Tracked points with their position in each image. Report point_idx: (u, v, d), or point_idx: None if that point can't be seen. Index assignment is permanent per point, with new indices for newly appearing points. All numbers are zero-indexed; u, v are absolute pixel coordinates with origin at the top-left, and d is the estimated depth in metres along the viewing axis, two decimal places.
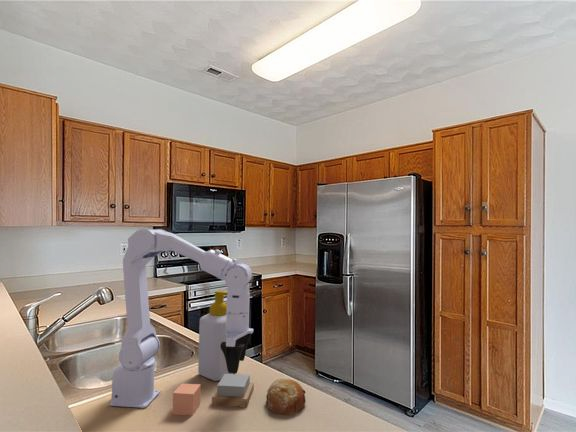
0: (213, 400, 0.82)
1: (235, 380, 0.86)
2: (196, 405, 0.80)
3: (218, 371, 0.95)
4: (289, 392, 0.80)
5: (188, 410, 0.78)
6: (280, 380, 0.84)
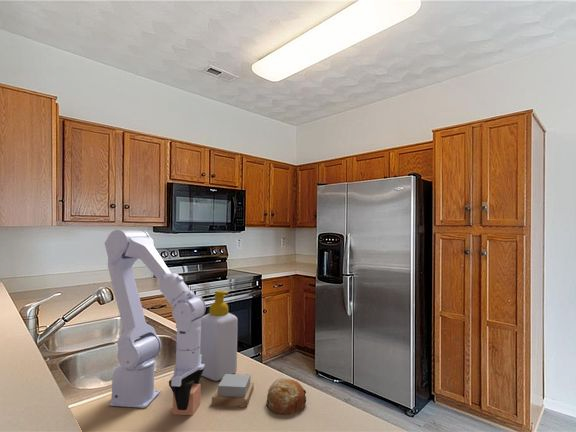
0: (213, 400, 0.82)
1: (236, 381, 0.86)
2: (196, 404, 0.80)
3: (218, 371, 0.95)
4: (290, 392, 0.80)
5: (188, 410, 0.78)
6: (281, 380, 0.84)
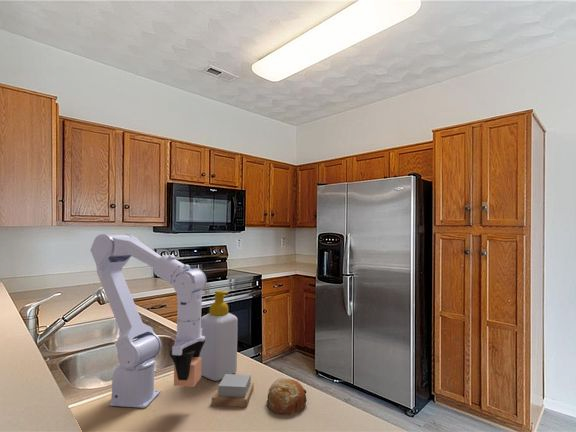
0: (213, 400, 0.82)
1: (236, 381, 0.86)
2: (197, 377, 0.80)
3: (218, 371, 0.95)
4: (290, 391, 0.80)
5: (189, 381, 0.78)
6: (281, 380, 0.84)
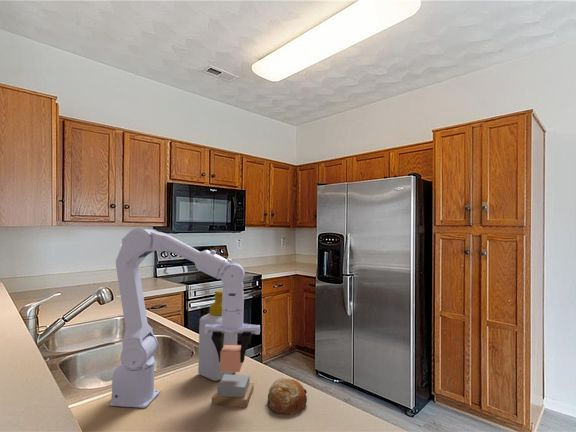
0: (213, 401, 0.82)
1: (236, 381, 0.86)
2: (229, 366, 0.84)
3: (218, 371, 0.95)
4: (291, 391, 0.81)
5: None
6: (281, 380, 0.84)
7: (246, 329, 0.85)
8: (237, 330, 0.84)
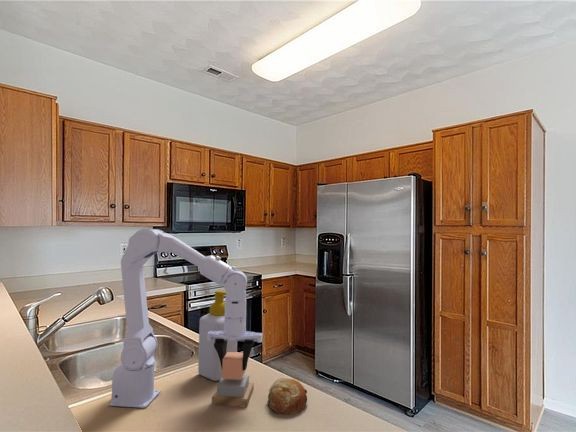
0: (213, 400, 0.82)
1: (235, 381, 0.86)
2: (230, 374, 0.84)
3: (218, 371, 0.95)
4: (291, 391, 0.81)
5: None
6: (282, 379, 0.84)
7: (248, 337, 0.85)
8: (239, 338, 0.85)
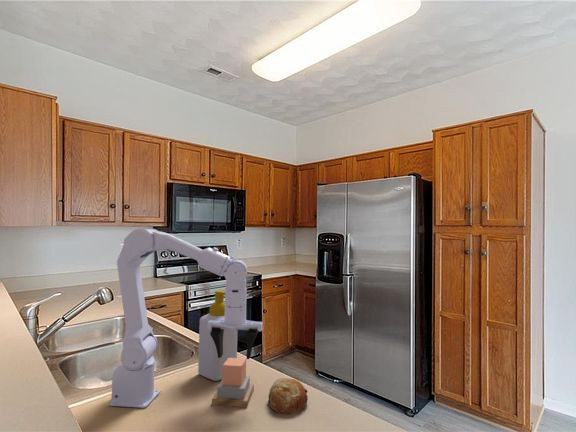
0: (213, 402, 0.82)
1: None
2: (231, 380, 0.85)
3: (218, 371, 0.95)
4: (291, 391, 0.81)
5: None
6: (282, 379, 0.84)
7: (248, 326, 0.85)
8: (239, 326, 0.85)
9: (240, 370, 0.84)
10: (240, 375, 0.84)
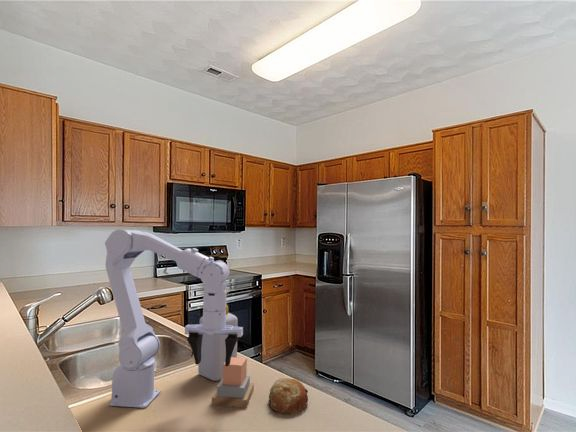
0: (213, 401, 0.82)
1: None
2: (231, 379, 0.84)
3: (218, 371, 0.95)
4: (292, 391, 0.81)
5: None
6: (283, 379, 0.84)
7: (227, 331, 0.81)
8: (217, 332, 0.80)
9: (240, 369, 0.84)
10: (240, 374, 0.84)
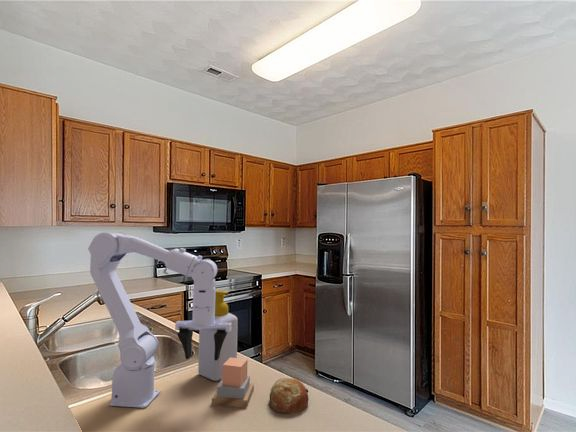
0: (213, 401, 0.82)
1: None
2: (230, 380, 0.84)
3: (218, 371, 0.95)
4: (292, 391, 0.81)
5: None
6: (283, 379, 0.84)
7: (216, 326, 0.84)
8: (207, 327, 0.83)
9: (239, 371, 0.84)
10: (239, 376, 0.83)
